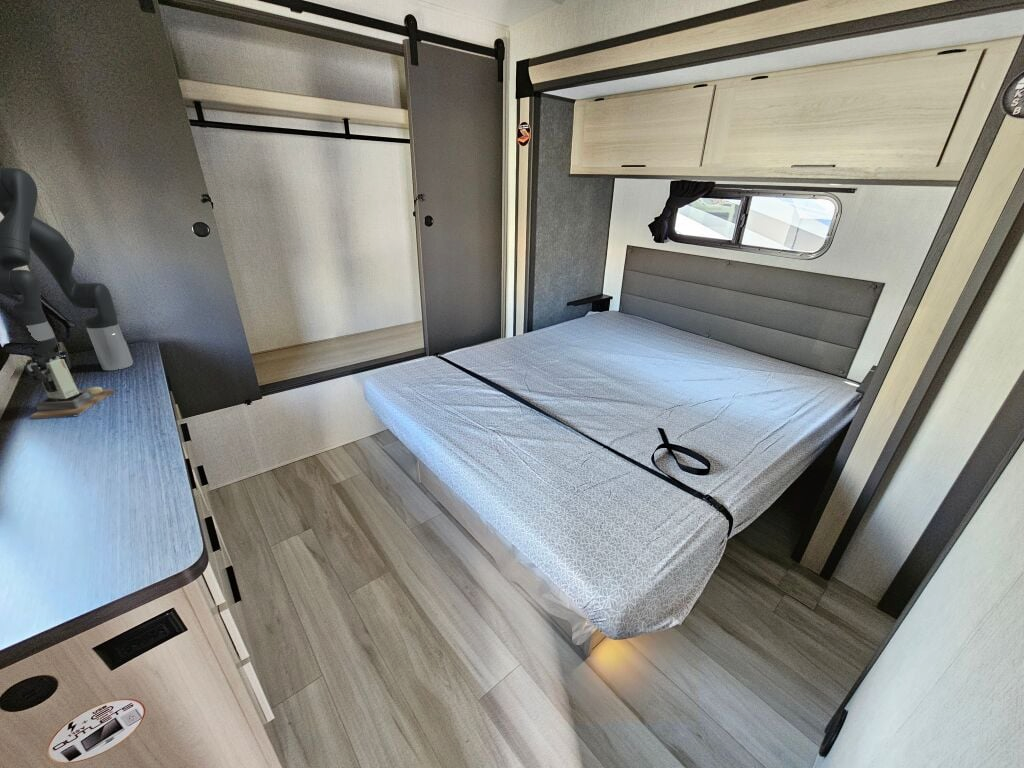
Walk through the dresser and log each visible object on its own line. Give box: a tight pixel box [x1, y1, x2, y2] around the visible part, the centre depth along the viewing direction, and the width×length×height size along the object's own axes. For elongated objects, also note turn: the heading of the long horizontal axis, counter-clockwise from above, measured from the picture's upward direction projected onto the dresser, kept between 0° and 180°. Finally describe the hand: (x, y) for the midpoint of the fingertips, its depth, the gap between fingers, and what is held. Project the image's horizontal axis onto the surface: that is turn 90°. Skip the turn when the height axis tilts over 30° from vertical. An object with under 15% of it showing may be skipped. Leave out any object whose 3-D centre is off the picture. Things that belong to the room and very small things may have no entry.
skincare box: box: [41, 359, 79, 399], centre depth 132 cm, size 6×4×12 cm
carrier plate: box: [30, 386, 115, 420], centre depth 137 cm, size 18×12×4 cm, turn 12°
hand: (59, 387), depth 133 cm, fingers closed on skincare box, 5 cm apart
